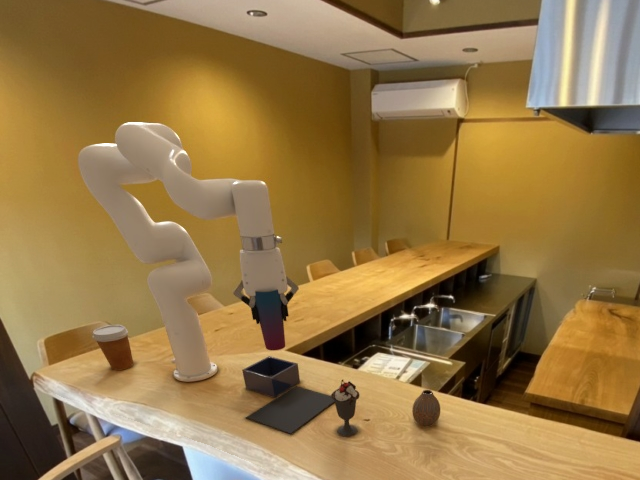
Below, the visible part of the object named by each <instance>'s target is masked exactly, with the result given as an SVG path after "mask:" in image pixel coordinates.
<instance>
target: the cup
mask: <svg viewBox="0 0 640 480" xmlns="http://www.w3.org/2000/svg"><path fill="white" fill-rule="evenodd" d="M255 294H256V295H255V305H256V308H257V312H258V317H259V325H260V330H261V334H262V338H263V342H264V347H265V349H266V350H267V351H279V350H282V349H285V347H286V337H285V325H284V320H283V313H282V300H281V299H280V294H279V293H278V289H277V290H274V291H268V292H258V291H255Z"/></svg>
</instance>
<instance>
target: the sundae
mask: <svg viewBox="0 0 640 480" xmlns="http://www.w3.org/2000/svg"><path fill="white" fill-rule="evenodd" d="M330 396H331V398H332V399H333V400H334V401H335V402H334V404H335V409H336V413H337V416H338V418H340V419H342V420H343V422H344V424H343V425H341V426H339V427H338V428H337V430H336V432H337V434H338V435H339V436H340V437H344V438H345V437H346V438H347V437H352V436H355V435H356V434H357V433H358V428H357V427H356V426H354V425H352V424H350V420H351V419H353V417H354V416H355V413H356V406H357V400H359V398H360V392H359V391H358V390H357V387H356V385H355V384H354V383H353V382H351V381H350V380H348V382H346V381H345V382H344V379H341V382H340V385H339V387H338V388H337V389H335V390H334V391H333V392H332V393H331V394H330Z"/></svg>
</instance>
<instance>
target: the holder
mask: <svg viewBox="0 0 640 480" xmlns="http://www.w3.org/2000/svg"><path fill="white" fill-rule="evenodd" d="M298 364H299V363H298V362H297V363H296V362H293V361H289V360H285V359H281V358H278V357H274V356H271V355H268V356H266V357H265V358H262V359H261V360H259V361H257V362H255V363H253V364H251V365H249V366H247V367H245V368H244V369H242V370H241V371H242V376H243V380H244V381H243V382H244V385H245V389H246V390H249V391H251V392H255V393H258V394H262V395H265V396H268V397H270V398H274V399H276V398H278V397H279V396H281V395H282V394H284V393H286V392H287V391H289V390H290V389H292V388H294V387H295V386H297V385H298V384H299V383H301V378H300V371H299V370H300V369H299V365H298Z"/></svg>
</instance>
